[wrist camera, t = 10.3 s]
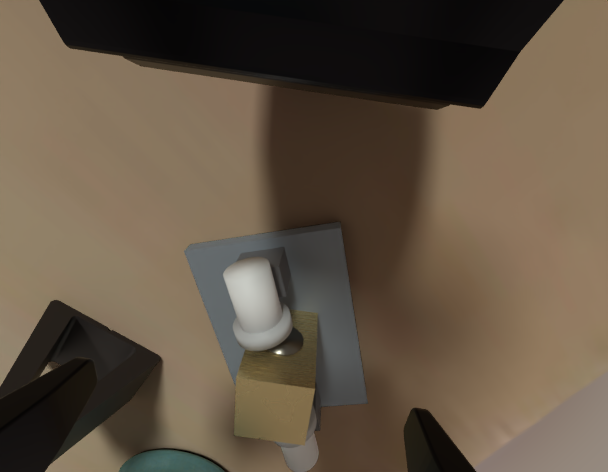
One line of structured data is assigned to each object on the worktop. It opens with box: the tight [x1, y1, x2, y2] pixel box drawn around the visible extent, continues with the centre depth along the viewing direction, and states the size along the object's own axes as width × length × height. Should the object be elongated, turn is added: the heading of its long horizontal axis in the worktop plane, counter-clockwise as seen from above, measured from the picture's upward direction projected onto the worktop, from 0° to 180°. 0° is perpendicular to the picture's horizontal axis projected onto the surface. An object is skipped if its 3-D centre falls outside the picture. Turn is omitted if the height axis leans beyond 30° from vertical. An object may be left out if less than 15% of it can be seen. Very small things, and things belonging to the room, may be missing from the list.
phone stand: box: [0, 300, 160, 464], centre depth 20 cm, size 9×6×12 cm, turn 53°
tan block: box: [234, 309, 318, 446], centre depth 19 cm, size 5×4×6 cm
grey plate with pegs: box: [184, 222, 368, 472], centre depth 20 cm, size 15×10×6 cm, turn 11°
